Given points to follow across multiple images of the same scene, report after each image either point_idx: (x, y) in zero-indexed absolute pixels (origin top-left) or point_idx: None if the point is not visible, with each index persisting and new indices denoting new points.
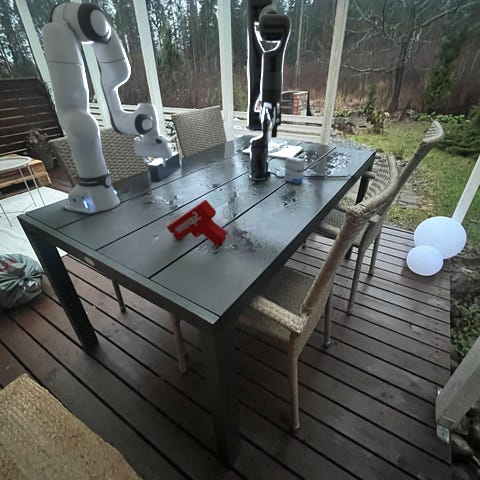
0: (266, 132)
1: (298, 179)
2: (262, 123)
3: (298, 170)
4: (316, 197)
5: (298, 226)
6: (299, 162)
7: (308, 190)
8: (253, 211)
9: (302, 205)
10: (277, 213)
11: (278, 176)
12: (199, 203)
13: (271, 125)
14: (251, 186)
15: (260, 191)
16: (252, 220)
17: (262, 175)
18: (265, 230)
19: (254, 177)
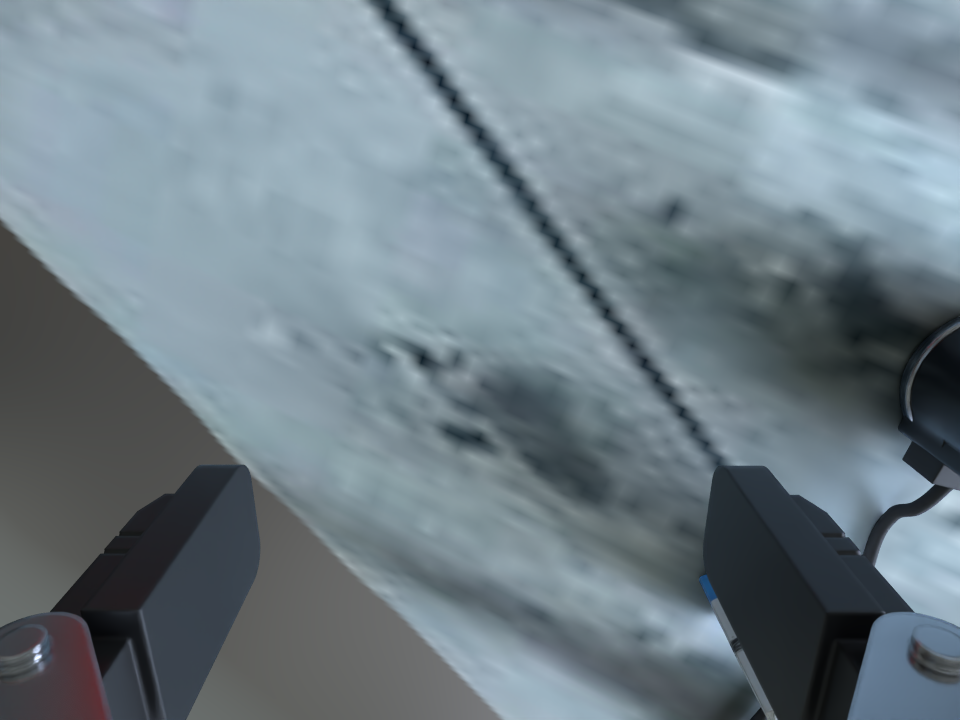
0: (704, 545)
1: (709, 601)
2: (847, 601)
3: (740, 649)
4: (458, 577)
5: (109, 294)
6: (767, 704)
7: (576, 587)
8: (384, 89)
9: (376, 449)
10: (308, 247)
11: (888, 521)
12: None
13: (33, 631)
14: (835, 254)
15: (705, 284)
16: (246, 24)
17: (928, 401)
18: (87, 61)
19: (958, 334)
